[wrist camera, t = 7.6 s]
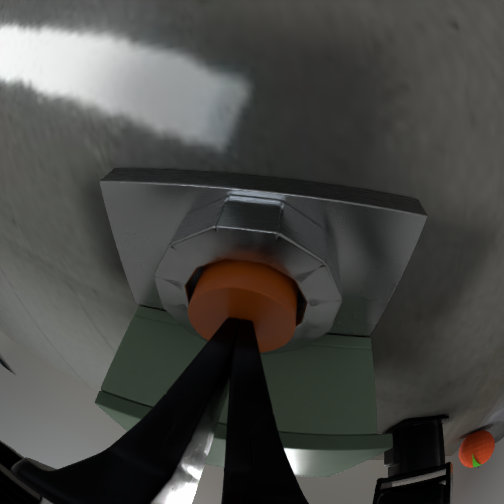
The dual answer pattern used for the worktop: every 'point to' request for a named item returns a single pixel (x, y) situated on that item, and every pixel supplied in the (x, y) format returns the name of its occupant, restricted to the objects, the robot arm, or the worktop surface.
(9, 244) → the worktop surface
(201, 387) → the robot arm
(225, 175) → the control panel
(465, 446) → the clementine
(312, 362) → the fryer
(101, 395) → the lid
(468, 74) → the worktop surface
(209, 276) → the button
